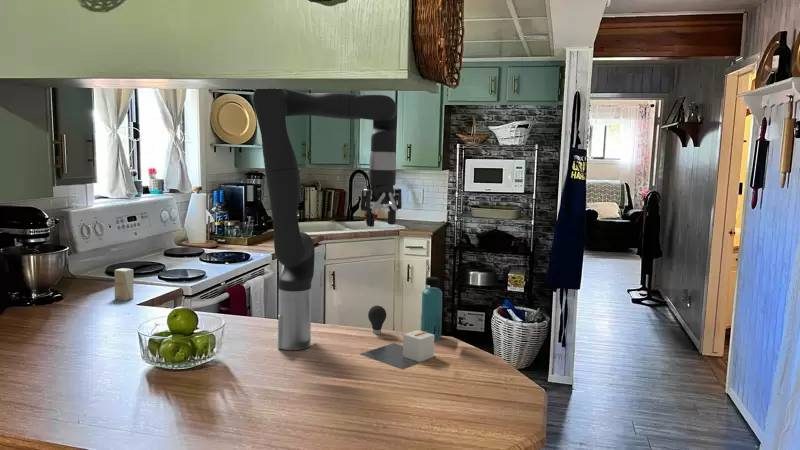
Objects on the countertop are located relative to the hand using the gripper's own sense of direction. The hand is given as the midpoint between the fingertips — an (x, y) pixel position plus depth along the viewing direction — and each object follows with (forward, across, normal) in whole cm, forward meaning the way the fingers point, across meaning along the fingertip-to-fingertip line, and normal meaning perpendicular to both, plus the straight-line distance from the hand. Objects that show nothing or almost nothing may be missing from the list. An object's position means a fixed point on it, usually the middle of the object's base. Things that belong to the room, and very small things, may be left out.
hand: (381, 225), depth 170 cm
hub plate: (+36, -4, -11) cm, 38 cm away
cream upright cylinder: (+36, -29, +103) cm, 113 cm away
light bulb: (+36, +7, +7) cm, 38 cm away
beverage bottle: (+36, +16, -7) cm, 40 cm away
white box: (+35, 0, -16) cm, 38 cm away
